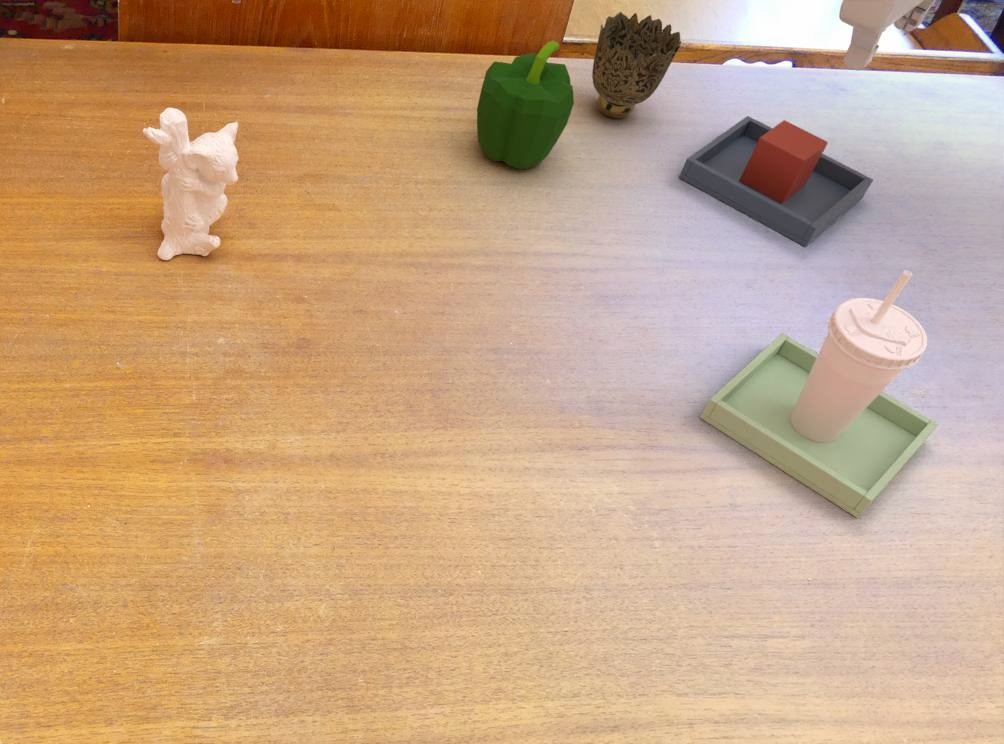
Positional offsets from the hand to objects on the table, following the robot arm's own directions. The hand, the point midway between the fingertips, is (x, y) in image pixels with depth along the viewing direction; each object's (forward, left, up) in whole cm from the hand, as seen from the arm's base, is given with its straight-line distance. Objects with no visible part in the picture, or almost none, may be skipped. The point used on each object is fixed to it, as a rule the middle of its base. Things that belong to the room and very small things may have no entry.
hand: (880, 45), depth 94 cm
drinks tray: (-16, +30, -13) cm, 37 cm away
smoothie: (-16, +30, -13) cm, 37 cm away
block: (+2, +4, -13) cm, 13 cm away
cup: (+19, +5, -13) cm, 23 cm away
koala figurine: (+31, +51, -13) cm, 61 cm away
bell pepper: (+21, +19, -13) cm, 31 cm away
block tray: (+2, +4, -13) cm, 14 cm away
